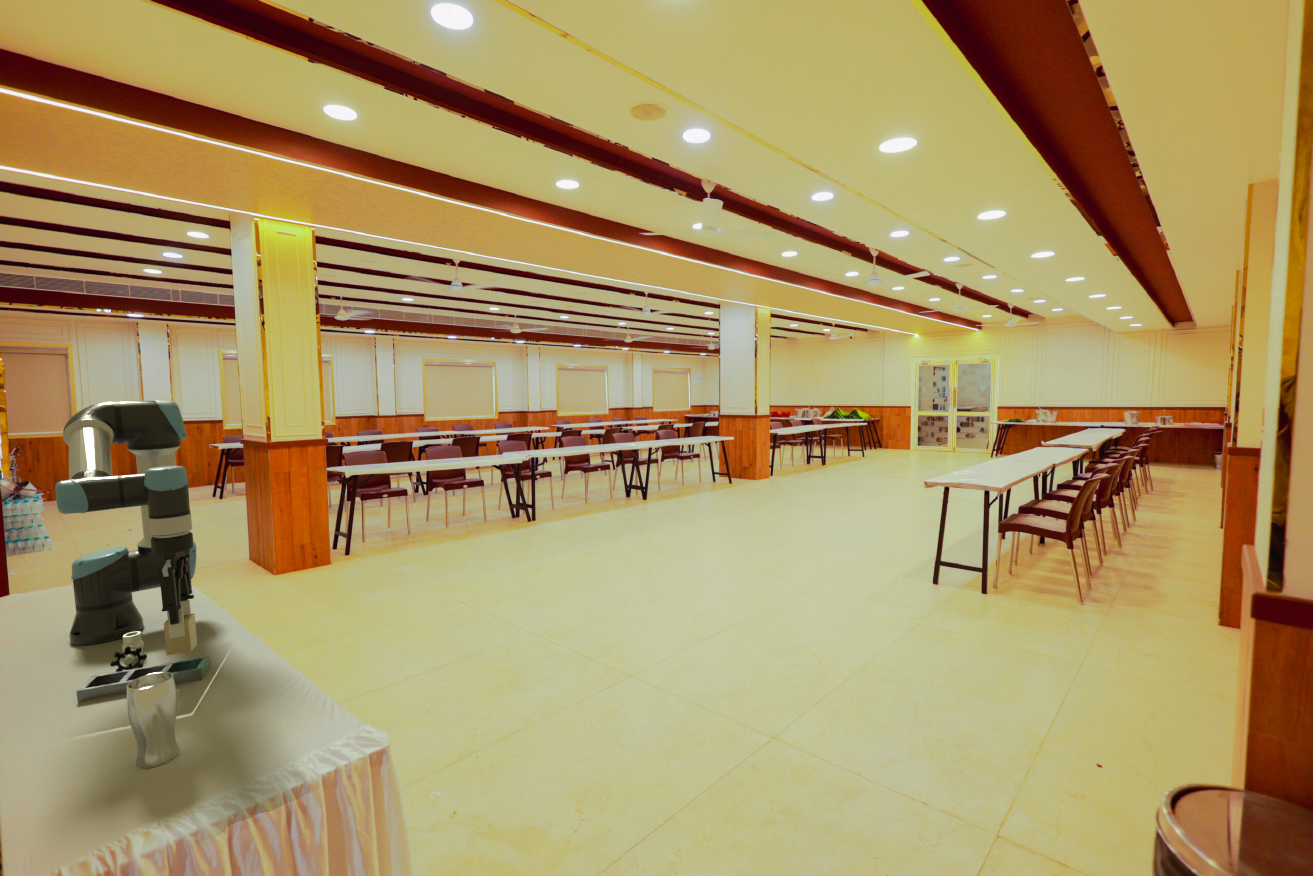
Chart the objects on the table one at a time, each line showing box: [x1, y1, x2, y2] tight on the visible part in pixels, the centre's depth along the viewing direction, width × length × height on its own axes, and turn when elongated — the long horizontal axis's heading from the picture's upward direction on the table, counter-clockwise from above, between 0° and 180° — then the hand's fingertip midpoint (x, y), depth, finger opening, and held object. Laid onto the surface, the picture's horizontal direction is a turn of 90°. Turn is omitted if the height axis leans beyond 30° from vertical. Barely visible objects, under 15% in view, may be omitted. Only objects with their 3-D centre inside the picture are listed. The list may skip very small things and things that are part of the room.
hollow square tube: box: [163, 613, 198, 656], centre depth 138 cm, size 5×5×8 cm
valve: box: [110, 630, 148, 672], centre depth 147 cm, size 7×7×12 cm
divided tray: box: [75, 656, 211, 703], centre depth 137 cm, size 7×22×3 cm, turn 114°
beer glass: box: [126, 672, 180, 770], centre depth 109 cm, size 7×7×15 cm
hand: (181, 632), depth 139 cm, fingers closed on hollow square tube, 5 cm apart
